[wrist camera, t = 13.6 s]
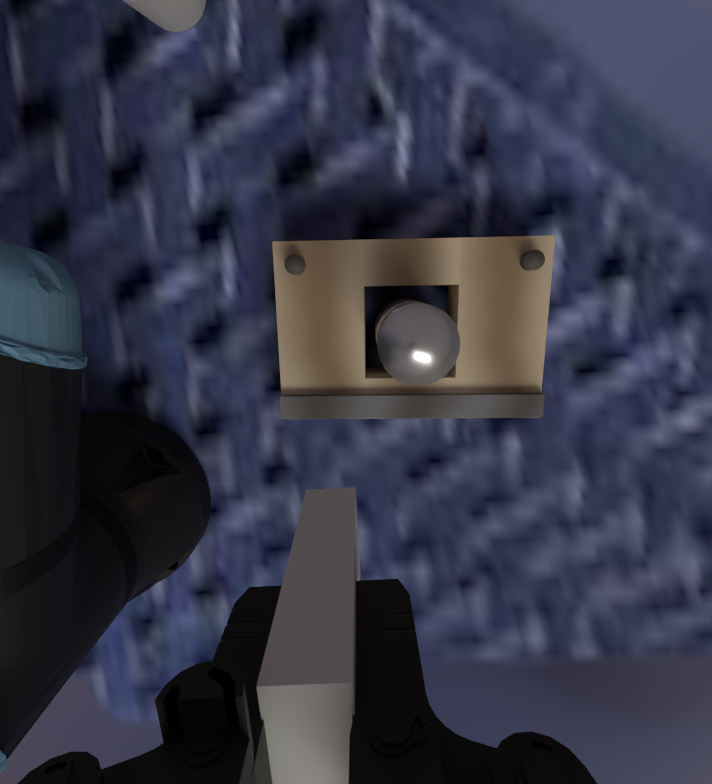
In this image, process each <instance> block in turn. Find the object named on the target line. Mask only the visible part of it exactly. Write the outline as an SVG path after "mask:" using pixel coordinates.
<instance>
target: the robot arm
mask: <svg viewBox="0 0 712 784" xmlns="http://www.w3.org/2000/svg"><path fill="white" fill-rule="evenodd" d="M86 366H87V356H86V354H85V353H84V352H83V351H82V332H81V312H80V295H79V290H78V287H77V284H76V282H75V280H74V278H73V277H72V275H71V274H70V272H69V271H68V270H67V269H66V268H65V267H64V266H63V265H62V264H61V263H59V262H58V261H57V260H56V259H54V258H52V257H51V256H49V255H47V254H45V253H43V252H41V251H37V250H34V249H31V248H28V247H25V246H21V245H18V244H14V243H11V242H7V241H4V240H0V773H1V772H2V770H3V769H4V768H5V767H6V766H7V762H8V761H7V759H8V757H9V756H10V755H11V754H12V752H13V751H14V750H15V748H16V747H17V746H18V744H19V743H20V742H21V740H22V739H23V738H24V737H25V735H26V734H27V733H28V731H29V730H30V729H31V727H32V726H33V725H34V723H35V722H36V721H37V720H38V718H39V717H40V716H41V714H42V713H43V711H44V710H45V709H46V708H47V707H48V705H49V704H50V703H51V701H52V700H53V698H54V697H55V696H56V695H57V693H58V692H59V691H60V689H61V688H62V687H63V686H64V684H65V683H66V682H67V680H68V679H69V678H70V676H71V675H72V674H73V672H74V671H75V670H76V669H77V667H78V666H79V665H80V663H81V662H82V661H83V659H84V658H85V657H86V655H87V654H88V653H89V652H90V650H91V649H92V648H93V646H94V645H95V644H96V642H97V641H98V640H99V638H100V637H101V636H102V635H103V633H104V632H105V631H106V629H107V628H108V627H109V625H110V624H111V623H112V621H113V620H114V619H115V617H116V616H117V615H118V613H119V612H120V611H121V610H122V608H123V607H124V606H125V604H126V603H127V602H129V601H130V600H132V599H134V598H135V597H137V596H138V595H140V594H141V593H143V592H144V591H146V590H148V589H149V588H151V587H152V586H153V585H155V584H156V583H157V582H159V581H161V580H163V579H165V578H166V577H168V576H169V575H171V574H172V573H173V572H175V571H176V570H177V569H178V568H179V567H180V566H181V565H182V564H183V563H184V562H185V561H186V560H187V559H188V557H189V556H190V555H191V553H192V552H193V550H194V549H195V547H196V546H197V544H198V543H199V541H200V540H201V538H202V536H203V534H204V532H205V530H206V527H207V524H208V521H209V516H210V492H209V487H208V483H207V480H206V477H205V474H204V472H203V470H202V468H201V466H200V464H199V462H198V460H197V459H196V457H195V456H194V455H193V453H192V452H191V451H190V449H189V448H188V447H187V446H186V445H185V444H184V443H183V442H182V441H181V440H180V439H179V438H178V437H177V436H175V435H174V434H173V433H172V432H170V431H169V430H167V429H166V428H164V427H163V426H161V425H159V424H157V423H155V422H153V421H151V420H149V419H146V418H144V417H141V416H138V415H134V414H129V413H124V412H97V413H92V414H88V415H84V416H81V393H82V369H83V368H85V367H86ZM227 623H228V624H227V626H226V627H225V630H224V632H223V635H222V638H221V642H220V643H219V645H218V648H217V650H216V653H215V656H214V658H213V661H209V662H204V663H199V664H196V665H194V666H192V667H190V668H188V669H186V670H184V671H182V672H180V673H179V674H178V675H176V676H175V677H174V678H173V679H172V680H171V681H169V682H168V683H167V684H166V685H165V686H164V688H163V689H162V691H161V692H160V694H159V695H158V696H157V698H156V699H155V704H156V708H157V713H158V718H159V722H160V727H161V732H162V736H163V741H164V743H163V744H161V745H160V746H158V747H157V748H155V749H153V750H151V751H149V752H147V753H145V754H143V755H140V756H137V757H135V758H132V759H129V760H126V761H124V762H121V763H118V764H115V765H113V766H110V767H107V768H105V769H102V770H101V767H100V764H99V761H98V759H97V758H96V757H94V756H93V755H91V754H90V753H88V752H69V753H66V754H63V755H60V756H57V757H54V758H51V759H50V760H48V761H46V762H45V763H43V764H42V765H40V766H39V767H37V768H35V769H34V770H32V771H31V772H29V773H28V774H27V775H26V776H25V777H24V778H23V779H22V780H21V781H20V782H19V783H18V784H597V783H596V781H595V780H594V778H593V777H592V776H591V774H590V773H589V771H588V770H587V768H586V767H585V766H584V765H583V764H582V763H581V762H580V760H579V759H578V758H577V757H576V756H575V755H574V754H573V753H572V752H571V750H570V749H568V748H567V747H565V746H564V745H562V744H560V743H559V742H557V741H556V740H554V739H553V738H551V737H549V736H545V735H542V734H538V733H535V732H521V733H514V734H512V735H511V736H509V737H507V738H506V739H504V740H502V741H501V743H500V744H499V746H498V748H494V747H490V746H487V745H484V744H480V743H477V742H474V741H471V740H468V739H466V738H464V737H461V736H459V735H457V734H455V733H454V732H453V731H451V730H450V729H448V728H447V727H445V726H444V724H443V723H442V722H441V721H440V720H439V719H438V718H437V717H436V716H435V714H434V712H433V711H432V709H431V707H430V705H429V702H428V699H427V695H426V692H425V685H424V680H423V673H422V667H421V661H420V655H419V649H418V643H417V637H416V632H415V625H414V619H413V614H412V607H411V601H410V595H409V593H408V592H407V590H406V589H405V588H404V586H403V585H402V584H401V582H400V581H399V580H398V579H386V580H364V581H360V558H359V541H358V525H357V509H356V492H355V488H334V489H314V490H306V492H305V496H304V500H303V504H302V508H301V512H300V516H299V520H298V524H297V528H296V532H295V536H294V540H293V544H292V548H291V551H290V555H289V559H288V563H287V567H286V571H285V575H284V579H283V583H282V586H265V587H249V588H248V589H247V591H246V592H245V593H244V594H243V595H242V596H241V597H240V598H239V599H238V600H237V601H236V603H235V604H234V607H233V609H232V612H231V614H230V617H229V619H228V622H227Z"/></svg>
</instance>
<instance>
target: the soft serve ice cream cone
mask: <svg viewBox="0 0 712 784" xmlns="http://www.w3.org/2000/svg"><path fill="white" fill-rule="evenodd" d="M123 1H124V2H126V3H127V4H128V5H130V6H131V7H133V8H134V9H135V10H137V11H138V12H140V13H141V14H142V15H144V16H145V17H147V18H148V19H149V20H151V21H152V22H154V23H155V24H156V25H158V26H159V27H161V28H163V29H165V30H167V31H170V32H183V31H186V30H189V29H190V28H192V27H193V26H194V25H195V24H196V23H197V22H198V21H199V20H200V18H201V17H202V14H203V12H204V9H205V5H206V0H123Z"/></svg>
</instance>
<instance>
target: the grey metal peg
mask: <svg viewBox="0 0 712 784" xmlns="http://www.w3.org/2000/svg"><path fill="white" fill-rule="evenodd" d="M375 336H376V342H377V348H378V353H379V357H380V360H381V363H382V365H383V367H384V368H385V369H386V371H387V372H388V373H389V374H390V375H391V376H392V377H393V378H395V379H396V380H398V381H400V382H402V383H405V384H408V385H417V386H419V385H427V384H430V383H433V382H436V381H438V380H439V379H441V378H442V377H444V376H445V375H446V374H447V373H448V372H449V371H450V370H451V369H452V367H453V366H454V364H455V362H456V360H457V358H458V355H459V351H460V336H459V332H458V329H457V327H456V325H455V323H454V321H453V320H452V319H451V317H450V316H449V315H448V314H447V313H445V312H444V311H443V310H441V309H439V308H437V307H435V306H432V305H429V304H425V303H422V302H418V301H415V300H411V299H397V300H394V301H391V302H390V303H388V304H387V305H385V306H384V307H383V308H382V309H381V311H380V312H379V314H378V316H377V318H376V321H375Z"/></svg>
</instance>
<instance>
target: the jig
mask: <svg viewBox="0 0 712 784" xmlns="http://www.w3.org/2000/svg"><path fill="white" fill-rule="evenodd" d="M554 244H555V236H513V237H465V238H417V239H370V240H322V241H274V242H272V246H273V262H274V279H275V296H276V313H277V329H278V346H279V363H280V380H281V396H280V411H281V419H383V418H539V417H543V408H544V397H545V395H544V394H543V393H541V390H542V379H543V367H544V356H545V345H546V334H547V322H548V311H549V300H550V289H551V277H552V266H553V255H554ZM417 285H448V308H447V314H448V315H449V316H450V317H451V319H452V320H453V321H454V323H455V325H456V327H457V329H458V332H459V336H460V351H459V355H458V358H457V360H456V362H455V364H454V366H453V367H452V369H451V370H450V371H449V372H448V373H447V374H446V375H445V376H444V377H442V378H441V379H439V380H438V381H436V382H433V383H430V384H427V385H419V386H417V385H408V384H405V383H402V382H400V381H398V380H396V379H395V378H393V377H392V376H391V375H390V374H389V373H388V372H387V371H386V369H385V368H366V344H365V286H417Z"/></svg>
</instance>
